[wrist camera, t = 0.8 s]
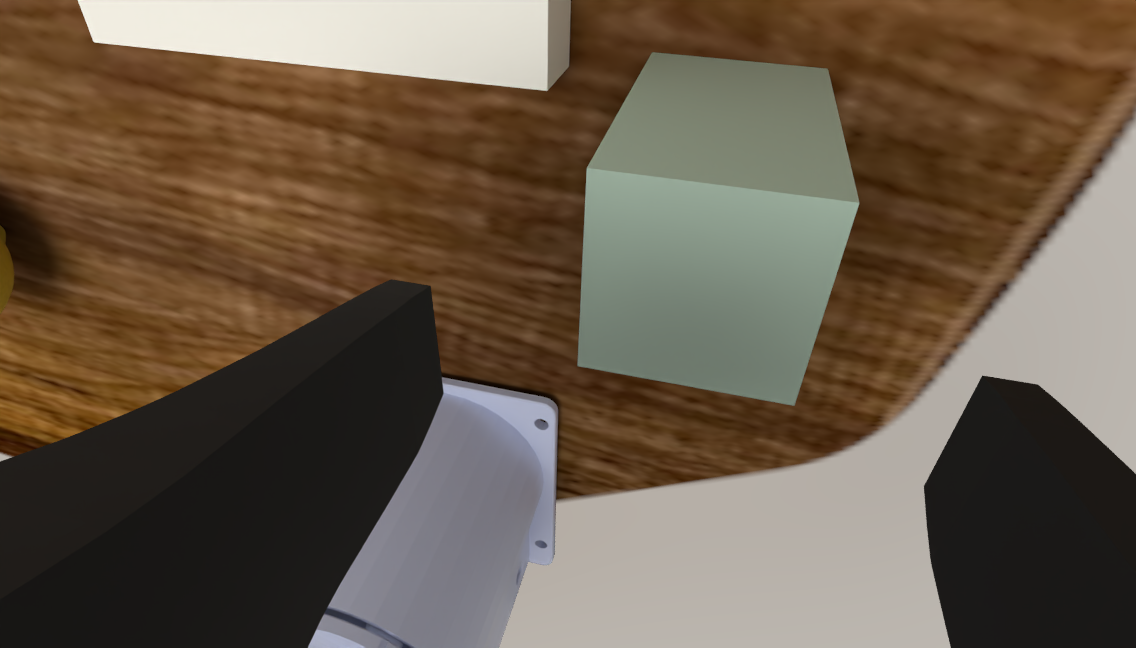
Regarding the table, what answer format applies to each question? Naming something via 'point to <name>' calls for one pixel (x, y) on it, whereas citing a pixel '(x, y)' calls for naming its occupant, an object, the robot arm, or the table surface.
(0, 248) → the lemon
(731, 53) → the table surface
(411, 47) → the notched board
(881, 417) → the table surface
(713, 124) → the block
